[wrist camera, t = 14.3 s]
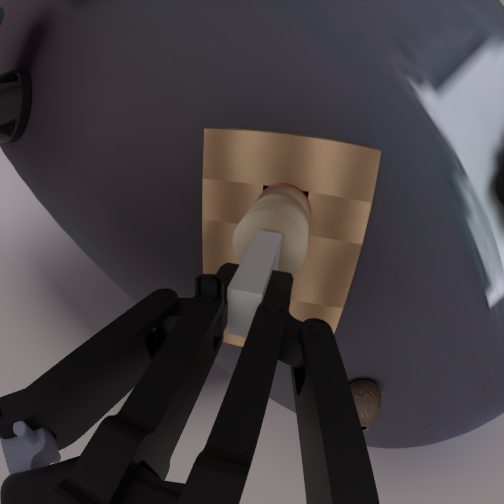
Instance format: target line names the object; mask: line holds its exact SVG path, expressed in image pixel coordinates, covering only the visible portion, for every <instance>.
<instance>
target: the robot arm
mask: <svg viewBox="0 0 504 504" xmlns="http://www.w3.org/2000/svg"><path fill="white" fill-rule="evenodd" d="M4 14H5V12H4V9H3V8H1V7H0V25H1V23H2V20H3V18H4ZM30 105H31V81H30V77H29V74H28V72H27V71H26V70H24V69H15V70H11V71H9V72H7V73H4V74H2V75H0V143H3V144H6V143H10V142H14V141H16V140H18V139H19V137H20V136H21V135H22V133H23V131H24V129H25V126H26V123H27V120H28V116H29V111H30ZM281 240H282V234H281V233H275V232H268V231H262V230H259V231H258V232H257V234H256V236H255V238H254V240H253V242H252V243H251V245H250V247H249V249H248V251H247V253H246V254H245V256H244V258H243V260H242V262H241V264H240V265H239V264H234V263H228V262H227V263H225V264H224V265H222V266H221V267H220V268H219V270H218V272H217V273H216V274H203V275H200V276H198V277H197V278H196V279H195V289H196V295H195V296H194V297H193V298H178V295H177V293H176V292H175V291H174V290H171V289H158V290H156V291H154V292H152V293H151V294H150V295H148V296H147V297H146V298H144V299H143V300H141V301H140V302H139V303H137V304H136V305H135V306H133V307H132V308H130V309H129V310H128V311H126V312H125V313H124V314H122V315H121V316H119V317H118V318H117V319H116V320H114V321H113V322H111V323H110V324H109V325H107V326H106V327H105V328H103V329H102V330H101V331H99V332H98V333H97V334H95V335H94V336H93V337H91V338H90V339H89V340H87V341H86V342H85V343H83V344H82V345H81V346H79V347H78V348H77V349H75V350H74V351H73V352H72V353H70V354H69V355H68V356H66V357H65V358H64V359H62V360H61V361H60V362H59V363H58V364H56V365H55V366H53V367H52V368H51V369H50V370H48V371H47V372H46V373H44V374H43V375H42V376H41V377H39V378H38V379H37V380H36V381H34V382H33V383H32V384H31V385H30V386H28V387H27V388H25V389H22V390H20V391H17V392H14V393H11V394H8V395H6V396H3V397H0V440H1V444H2V448H3V452H4V455H5V459H6V463H7V466H8V469H9V472H10V475H9V476H8V477H7V478H6V479H5V480H4V482H3V484H2V487H1V492H0V494H1V504H239V502H240V499H241V495H242V493H243V489H244V486H245V483H246V479H247V476H248V473H249V469H250V466H251V462H252V459H253V455H254V452H255V448H256V445H257V441H258V437H259V434H260V430H261V426H262V422H263V418H264V414H265V410H266V406H267V402H268V399H269V394H270V390H271V386H272V382H273V378H274V373H275V369H276V365H277V360H280V361H282V362H284V363H286V364H288V365H290V366H291V367H290V369H291V377H292V384H293V391H294V399H295V406H296V414H297V422H298V430H299V438H300V447H301V455H302V464H303V473H304V482H305V490H306V501H307V504H379V499H378V494H377V489H376V485H375V480H374V475H373V471H372V467H371V463H370V459H369V454H368V450H367V446H366V442H365V438H364V435H363V431H362V427H361V423H360V420H359V416H358V412H357V409H356V405H355V402H354V398H353V395H352V391H351V388H350V385H349V381H348V378H347V375H346V371H345V368H344V365H343V362H342V358H341V355H340V352H339V349H338V346H337V343H336V340H335V337H334V334H333V331H332V328H331V326H330V325H329V324H328V323H327V322H326V321H324V320H321V319H318V318H310V319H307V320H305V321H303V322H302V321H299V320H297V319H296V318H294V317H293V316H292V315H291V314H290V312H289V302H290V297H291V291H292V286H293V280H294V278H293V276H292V274H291V273H288V272H283V271H277V270H278V263H279V256H280V248H281ZM226 326H227V329H226V333H227V334H232V335H236V336H241V337H245V338H246V340H245V343H244V346H243V348H242V351H241V354H240V356H239V359H238V362H237V365H236V367H235V370H234V373H233V375H232V378H231V381H230V384H229V386H228V389H227V391H226V394H225V397H224V399H223V402H222V405H221V407H220V410H219V412H218V415H217V418H216V420H215V423H214V425H213V428H212V430H211V433H210V435H209V438H208V440H207V443H206V445H205V448H204V449H203V451H202V452H201V453H199V455H198V457H197V458H196V460H195V462H194V465H193V467H192V470H191V472H190V474H189V477H188V479H187V481H186V484H184V483H176V482H169V481H165V478H166V476H167V473H168V471H169V467H170V459H171V456H172V453H173V451H174V449H175V447H176V445H177V442H178V440H179V438H180V436H181V434H182V431H183V429H184V427H185V425H186V423H187V420H188V418H189V416H190V414H191V412H192V409H193V407H194V405H195V403H196V400H197V398H198V396H199V394H200V392H201V389H202V387H203V385H204V383H205V380H206V378H207V376H208V374H209V371H210V369H211V367H212V365H213V363H214V360H215V358H216V356H217V353H218V351H219V349H220V347H221V344H222V342H223V338H224V330H225V328H226ZM154 328H155V330H153V329H154ZM152 330H153V331H152ZM133 388H134V389H133ZM132 389H133V390H132ZM130 390H132V392H131V394H130V395H129V397H128V398H127V400H126V402H125V403H124V405H123V406H122V408H121V410H120V411H119V412H118V414H116V415H113V416H108V417H106V418H105V419H104V420H103V421H102V422H101V423H100V425H99V426H98V428H97V430H96V431H95V433H94V434H93V436H92V438H91V439H90V441H89V442H88V444H87V446H86V447H85V449H84V451H83V452H82V454H81V455H80V456H78V457H75V458H72V459H68V460H65V461H62V462H59V461H60V458H61V457H60V454H59V452H58V451H59V450H61V449H63V448H66V447H67V446H69V445H71V444H72V443H74V442H75V441H76V440H77V439H79V438H80V437H81V436H82V435H84V434H85V432H87V431H88V430H89V429H90V428H91V427H92V426H93V425H94V424H95V423H96V422H98V421H99V419H101V418H102V417H103V416H104V415H105V414H106V413H107V412H108V411H109V410H110V409H111V408H113V407H114V406H115V405H116V404H117V403H118V402H119V401H120V400H121V399H122V398H123V397H124V396H125V395H126V394H127V393H128V392H129V391H130ZM51 463H55V464H51ZM49 464H51V465H49Z"/></svg>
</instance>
